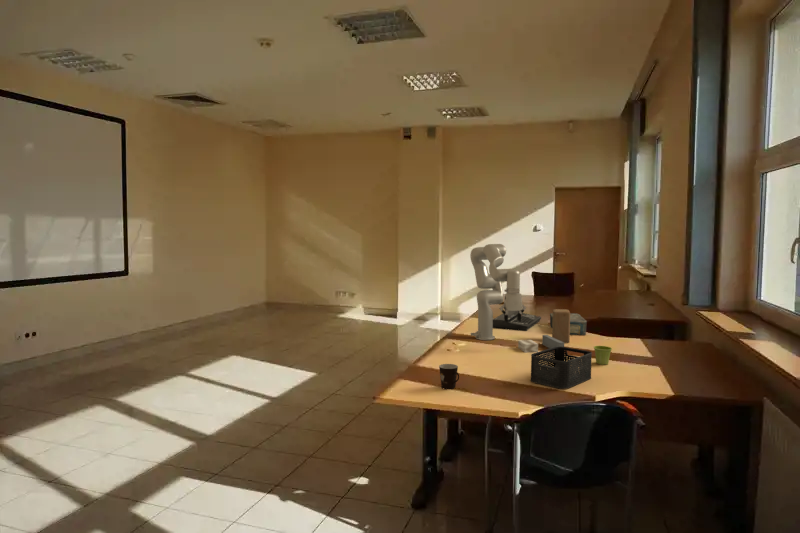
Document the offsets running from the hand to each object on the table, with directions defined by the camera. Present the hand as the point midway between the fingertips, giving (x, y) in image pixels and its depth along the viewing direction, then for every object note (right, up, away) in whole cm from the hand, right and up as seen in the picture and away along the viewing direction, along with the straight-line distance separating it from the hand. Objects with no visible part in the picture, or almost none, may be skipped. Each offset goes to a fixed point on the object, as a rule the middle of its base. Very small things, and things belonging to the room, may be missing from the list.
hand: (512, 320), depth 320 cm
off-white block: (+10, -18, +4) cm, 21 cm away
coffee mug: (-44, -24, -70) cm, 86 cm away
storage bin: (+12, -23, -57) cm, 63 cm away
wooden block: (+36, -16, +26) cm, 47 cm away
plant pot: (+42, -20, -28) cm, 55 cm away
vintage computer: (+19, -12, +82) cm, 85 cm away
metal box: (+50, -13, +60) cm, 79 cm away
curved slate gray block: (+25, -17, +7) cm, 32 cm away
